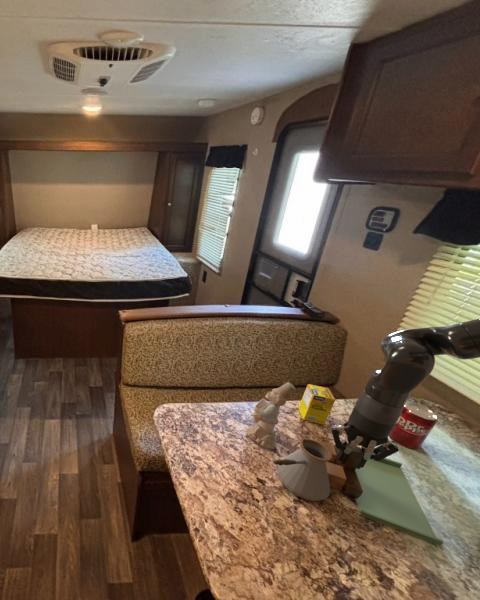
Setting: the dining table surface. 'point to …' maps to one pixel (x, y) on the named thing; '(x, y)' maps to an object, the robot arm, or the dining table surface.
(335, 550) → the dining table surface
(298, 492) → the coffee pot
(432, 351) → the robot arm
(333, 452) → the cork cube
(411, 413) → the soda can
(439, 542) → the tray
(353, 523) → the dining table surface
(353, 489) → the brown wooden t-shape
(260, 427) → the figurine
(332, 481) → the cork cube
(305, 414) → the supplement box
